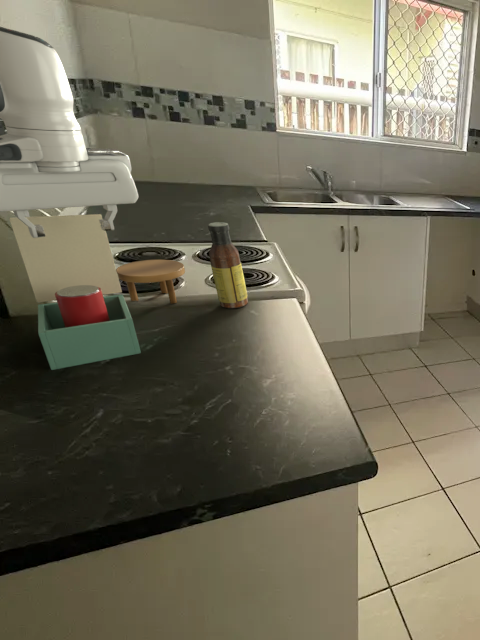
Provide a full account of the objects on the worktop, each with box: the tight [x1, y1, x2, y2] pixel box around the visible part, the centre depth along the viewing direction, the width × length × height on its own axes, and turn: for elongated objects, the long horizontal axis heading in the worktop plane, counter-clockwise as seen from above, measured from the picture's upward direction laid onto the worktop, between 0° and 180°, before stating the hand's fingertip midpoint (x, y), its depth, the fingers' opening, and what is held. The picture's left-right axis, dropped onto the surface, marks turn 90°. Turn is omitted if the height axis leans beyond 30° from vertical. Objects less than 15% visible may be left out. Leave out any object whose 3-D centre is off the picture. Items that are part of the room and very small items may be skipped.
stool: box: [116, 259, 186, 304], centre depth 113 cm, size 13×13×8 cm
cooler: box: [37, 293, 142, 371], centre depth 89 cm, size 15×13×8 cm
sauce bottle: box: [207, 221, 249, 309], centre depth 111 cm, size 6×6×20 cm
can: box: [55, 285, 110, 328], centre depth 88 cm, size 6×6×11 cm
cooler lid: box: [8, 213, 123, 304], centre depth 90 cm, size 15×13×1 cm
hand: (74, 233), depth 82 cm, fingers open, 8 cm apart
